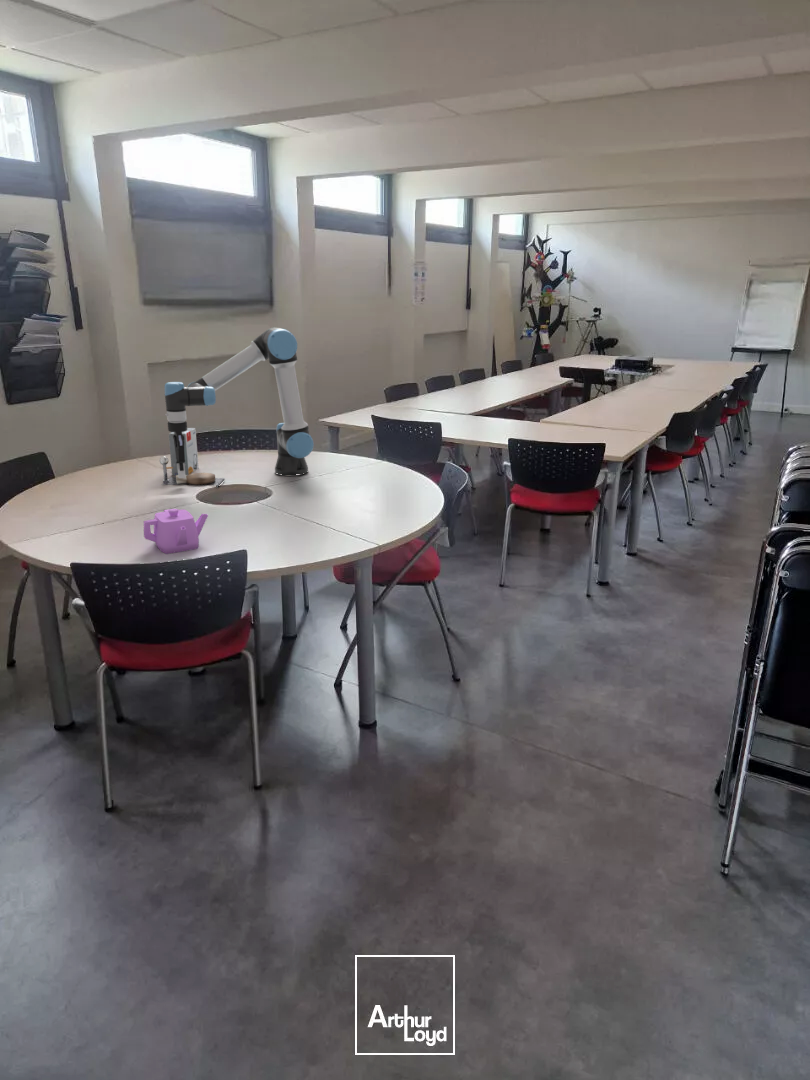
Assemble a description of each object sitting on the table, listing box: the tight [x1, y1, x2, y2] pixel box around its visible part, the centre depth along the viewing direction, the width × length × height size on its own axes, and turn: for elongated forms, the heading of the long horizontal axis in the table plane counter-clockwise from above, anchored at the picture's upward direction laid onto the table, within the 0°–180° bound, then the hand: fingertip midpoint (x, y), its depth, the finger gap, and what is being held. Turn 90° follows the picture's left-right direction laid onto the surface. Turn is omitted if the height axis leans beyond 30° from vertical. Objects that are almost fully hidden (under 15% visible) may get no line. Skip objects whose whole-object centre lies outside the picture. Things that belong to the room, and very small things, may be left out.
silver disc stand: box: [159, 456, 173, 484], centre depth 299 cm, size 5×2×11 cm, turn 108°
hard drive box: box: [168, 427, 199, 476], centre depth 316 cm, size 16×8×20 cm, turn 179°
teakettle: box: [143, 508, 209, 555], centre depth 230 cm, size 17×17×12 cm
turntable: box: [175, 472, 216, 484], centre depth 301 cm, size 16×12×3 cm
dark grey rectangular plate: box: [161, 476, 225, 489], centre depth 302 cm, size 24×12×2 cm, turn 89°
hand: (181, 477), depth 293 cm, fingers closed
